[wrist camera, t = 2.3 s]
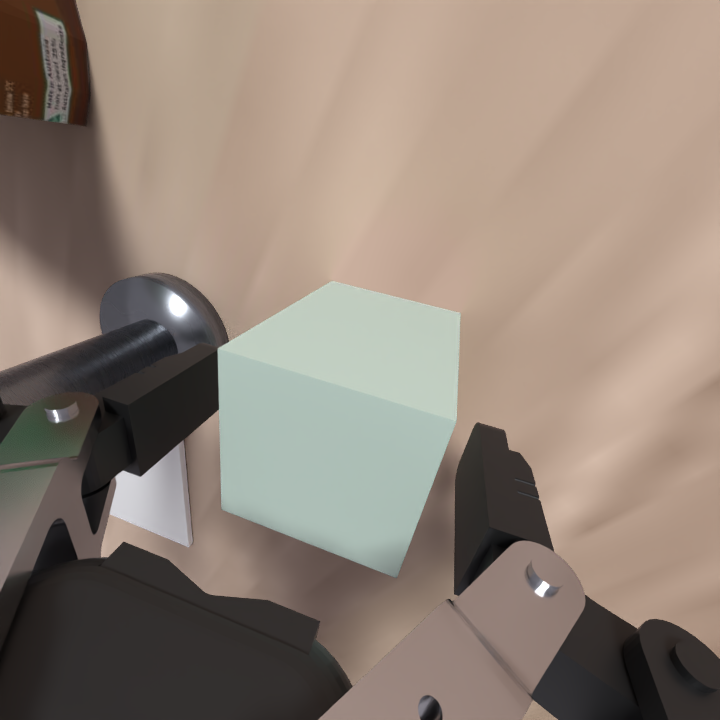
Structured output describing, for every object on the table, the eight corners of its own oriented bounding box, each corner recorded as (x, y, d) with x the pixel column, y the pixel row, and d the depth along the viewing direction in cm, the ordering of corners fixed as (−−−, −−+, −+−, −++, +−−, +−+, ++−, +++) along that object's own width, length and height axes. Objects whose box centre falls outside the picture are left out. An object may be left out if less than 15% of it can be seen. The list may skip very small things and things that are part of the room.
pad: (183, 431, 19) (178, 436, 19) (192, 542, 24) (188, 547, 23) (43, 381, 21) (35, 384, 20) (77, 494, 25) (71, 498, 25)
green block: (460, 312, 12) (456, 421, 6) (425, 421, 15) (396, 578, 9) (332, 280, 13) (217, 348, 7) (317, 388, 15) (221, 509, 9)
